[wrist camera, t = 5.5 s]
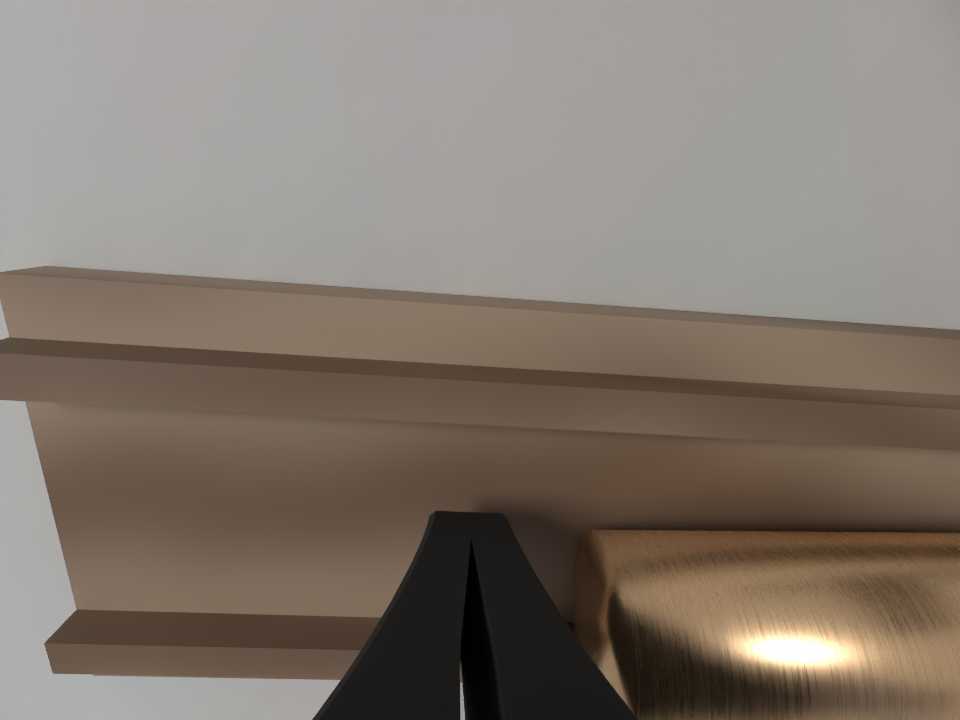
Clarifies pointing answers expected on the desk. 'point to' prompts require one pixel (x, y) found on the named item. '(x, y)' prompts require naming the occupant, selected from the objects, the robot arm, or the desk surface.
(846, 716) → the thermos bottle
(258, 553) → the board
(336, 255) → the desk surface
